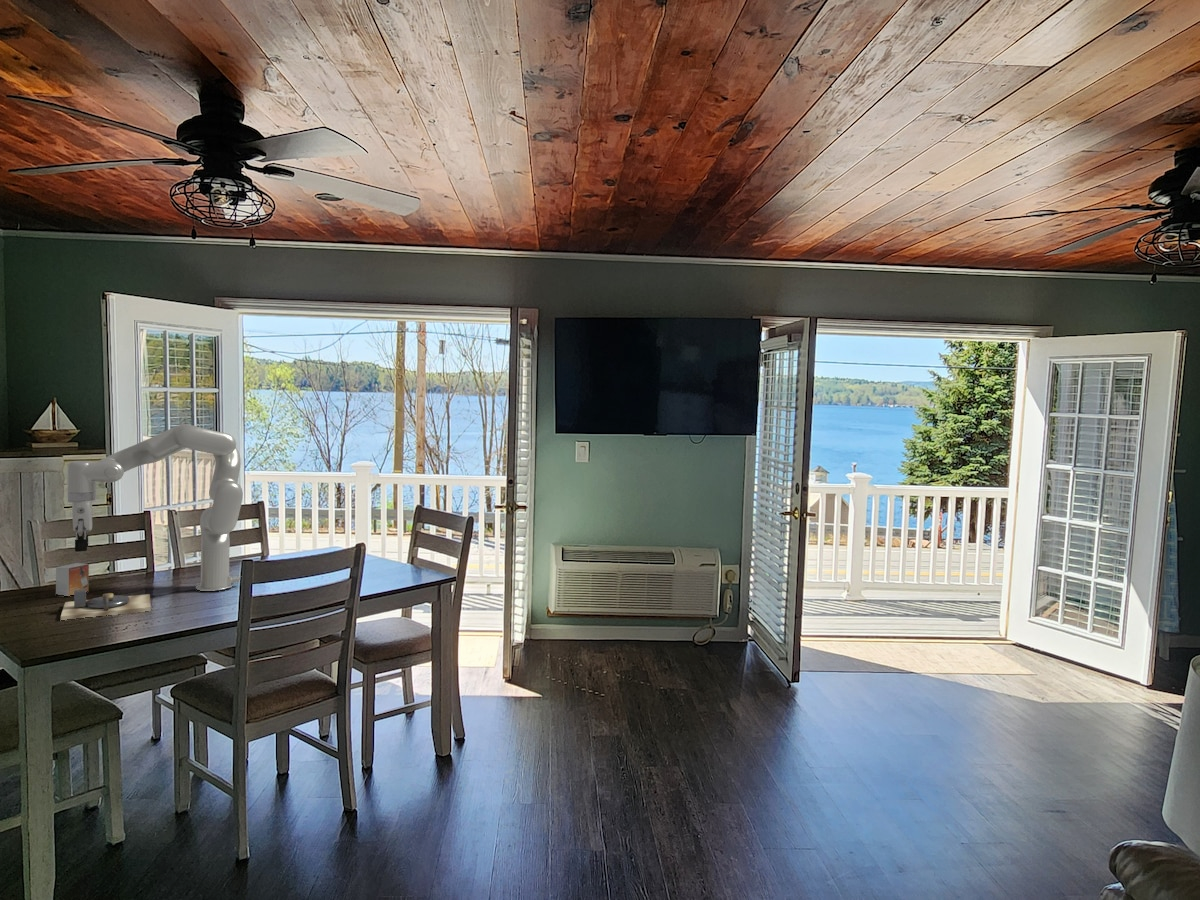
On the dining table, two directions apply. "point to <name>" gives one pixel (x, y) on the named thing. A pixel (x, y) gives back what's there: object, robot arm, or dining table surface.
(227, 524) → the robot arm
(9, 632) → the dining table surface
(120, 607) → the post board
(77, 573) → the small box
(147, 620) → the dining table surface
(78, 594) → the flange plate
